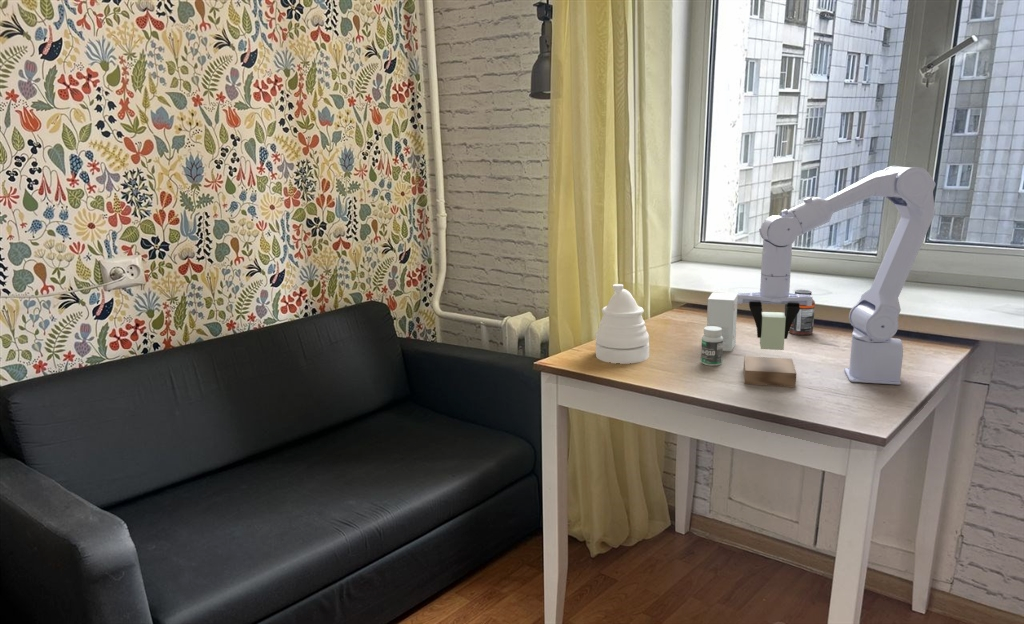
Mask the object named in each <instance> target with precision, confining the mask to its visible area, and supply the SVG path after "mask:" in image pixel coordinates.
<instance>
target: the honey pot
mask: <svg viewBox="0 0 1024 624" xmlns="http://www.w3.org/2000/svg"><path fill="white" fill-rule="evenodd" d="M612 290H613V291H614V293H613V294H612V296H611V297H610V299H609V301H608V302H607V305H605V306H603V308H601V313H602V318H601V320H600V321H599V326H598V330H597V332H596V333H595V356H596V358H597V359H598V360H600V361H601V362H606V363H609V362H611V364H616V363H620V365H622V364H623V365H626V364H627V365H628V364H630V363H631V364H637V363H642V362H645V361H646V360H648V359H649V357H650V343H649V342H650V340H649V339H650V335H649V332H648V331H647V326H646V325H645V324H646V322H645V320H644V318H643V316H642V315H643V313H644V312H645V309H644V308H643V307H642V306H639V305H638V303H637V301H636V299H635V298H634V296H633V295H632V293H631V292H630V291H629V290H628V289H625V288H624V284H622V283H614V284H612Z"/></svg>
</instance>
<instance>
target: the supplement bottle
mask: <svg viewBox="0 0 1024 624" xmlns="http://www.w3.org/2000/svg"><path fill="white" fill-rule="evenodd" d="M794 294H803V295H812V294H813V293H812V291H811V290H808V289H797V290H795V291H794ZM812 296H813V295H812ZM799 307H800V310H799V312H798V314H797V315H796V317H795V319H794V321H793V322H792V325H791V327H790V329H789V332H788V333H790V334H792V335H795V334H796V336H810V335H812V334H813V332H814V322H815V308H816V301H815V299H813V298H812V306H806V305H799ZM809 334H810V335H809Z"/></svg>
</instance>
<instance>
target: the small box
mask: <svg viewBox="0 0 1024 624" xmlns="http://www.w3.org/2000/svg"><path fill="white" fill-rule="evenodd" d="M737 301H738V293H736V292H735V293H734V292H720V291H719V292H715V291H714V292H713V291H712V292H711V293H710V295H709V296H708V298H707V309H706V311H707V313H706V327H707V326H716V327H720V328H722V335H721V336H722V337H723V351H722V352H733V351H734V348H735V345H736V343H737V341H736V340H737V318H738V317H737V316H738V302H737Z"/></svg>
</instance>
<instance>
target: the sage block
mask: <svg viewBox="0 0 1024 624" xmlns="http://www.w3.org/2000/svg"><path fill="white" fill-rule="evenodd" d="M785 321H786V317H785V312H779V311H778V312H777V311H776V312H775V311H762V317H761V338H759V345H760V346H759V347H760V350H769V351H770V350H772V351H773V350H774V351H776V350H777V351H784V348H785V339H784V337H785Z"/></svg>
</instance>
